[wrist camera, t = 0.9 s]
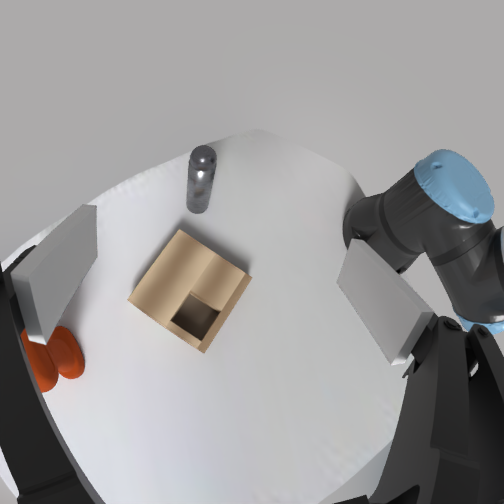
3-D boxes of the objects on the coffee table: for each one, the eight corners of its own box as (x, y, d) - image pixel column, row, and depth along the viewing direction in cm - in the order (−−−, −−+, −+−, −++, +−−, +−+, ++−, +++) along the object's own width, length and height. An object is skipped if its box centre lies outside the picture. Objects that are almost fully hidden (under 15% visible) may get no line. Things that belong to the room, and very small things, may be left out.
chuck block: (247, 282, 43) (252, 277, 40) (202, 352, 38) (204, 353, 36) (179, 236, 43) (179, 228, 40) (131, 303, 38) (127, 299, 35)
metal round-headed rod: (212, 201, 46) (224, 148, 33) (199, 217, 44) (207, 167, 32) (194, 190, 46) (201, 135, 33) (182, 205, 44) (183, 152, 32)
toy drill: (39, 252, 35) (-10, 223, 21) (93, 369, 35) (59, 395, 21) (15, 267, 34) (-38, 244, 20) (68, 382, 33) (27, 411, 19)
